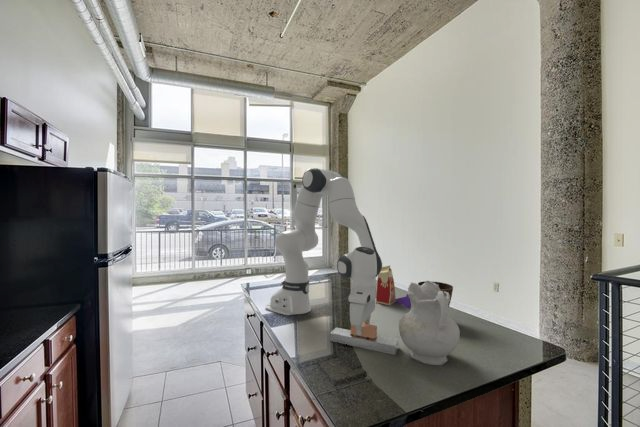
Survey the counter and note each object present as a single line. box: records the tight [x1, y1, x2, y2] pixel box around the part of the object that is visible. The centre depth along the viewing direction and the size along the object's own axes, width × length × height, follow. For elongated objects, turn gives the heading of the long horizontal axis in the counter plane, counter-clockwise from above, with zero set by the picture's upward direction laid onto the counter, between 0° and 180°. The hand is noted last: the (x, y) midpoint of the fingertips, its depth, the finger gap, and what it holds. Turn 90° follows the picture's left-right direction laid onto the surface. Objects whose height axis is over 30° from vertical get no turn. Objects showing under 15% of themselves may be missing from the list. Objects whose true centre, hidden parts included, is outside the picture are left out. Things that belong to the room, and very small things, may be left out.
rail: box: [329, 327, 399, 356], centre depth 110 cm, size 24×6×3 cm, turn 66°
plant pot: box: [417, 280, 454, 308], centre depth 135 cm, size 15×15×16 cm
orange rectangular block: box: [350, 323, 378, 340], centre depth 110 cm, size 9×3×7 cm, turn 66°
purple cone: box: [395, 293, 411, 309], centre depth 158 cm, size 12×7×7 cm, turn 18°
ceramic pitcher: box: [398, 280, 461, 366], centre depth 100 cm, size 22×20×25 cm
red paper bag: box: [375, 265, 397, 306], centre depth 161 cm, size 9×9×20 cm
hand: (363, 329), depth 110 cm, fingers open, 8 cm apart
